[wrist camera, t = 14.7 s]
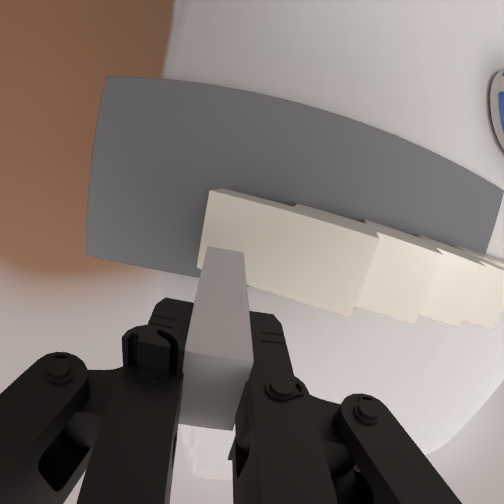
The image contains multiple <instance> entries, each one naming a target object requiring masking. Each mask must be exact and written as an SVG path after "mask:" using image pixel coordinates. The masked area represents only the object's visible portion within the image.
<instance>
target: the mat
mask: <svg viewBox="0 0 504 504" xmlns="http://www.w3.org/2000/svg"><path fill="white" fill-rule="evenodd" d="M219 188H224V189H228V190H232V191H236V192H240V193H244V194H248V195H251V196H255V197H259V198H263V199H267V200H270V201H274V202H278V203H281V204H285V205H289V206H292V207H294V206H295V205H296V204H302V205H305V206H309V207H312V208H316V209H319V210H322V211H326V212H329V213H333V214H336V215H339V216H343V217H346V218H349V219H352V220H356V221H359V222H362V223H364V219H366V220H369V221H372V222H375V223H378V224H381V225H384V226H387V227H390V228H393V229H396V230H399V231H402V232H405V233H408V234H411V235H413V236H416V237H418V236H419V235H422V236H425V237H427V238H430V239H433V240H436V241H438V242H441V243H444V244H446V245H449V246H452V247H453V246H454V245H457V246H460V247H463V248H466V249H469V250H472V251H475V252H479V253H482V254H485V253H486V250H487V247H488V244H489V241H490V238H491V235H492V232H493V229H494V226H495V222H496V219H497V215H498V212H499V208H500V205H501V201H502V197H503V193H504V190H502V189H500V188H499V187H497V186H495V185H494V184H492V183H490V182H489V181H487V180H485V179H484V178H482V177H480V176H478V175H477V174H475V173H473V172H471V171H469V170H467V169H466V168H464V167H462V166H460V165H458V164H456V163H454V162H452V161H450V160H448V159H446V158H444V157H442V156H440V155H438V154H436V153H434V152H432V151H430V150H427V149H425V148H423V147H421V146H419V145H416V144H414V143H412V142H410V141H407V140H405V139H403V138H400V137H398V136H395V135H393V134H390V133H388V132H385V131H383V130H380V129H377V128H375V127H372V126H369V125H367V124H364V123H361V122H358V121H355V120H352V119H350V118H347V117H344V116H340V115H337V114H334V113H331V112H328V111H324V110H321V109H318V108H314V107H311V106H307V105H304V104H300V103H296V102H292V101H288V100H284V99H280V98H276V97H272V96H268V95H263V94H258V93H254V92H249V91H244V90H238V89H233V88H227V87H222V86H215V85H209V84H202V83H195V82H187V81H178V80H168V79H157V78H143V77H122V76H107V77H106V81H105V86H104V90H103V94H102V100H101V104H100V109H99V115H98V120H97V125H96V132H95V138H94V145H93V152H92V160H91V169H90V178H89V190H88V204H87V224H86V255H87V256H92V257H96V258H101V259H106V260H111V261H116V262H121V263H126V264H131V265H136V266H141V267H146V268H151V269H156V270H161V271H166V272H172V273H177V274H183V275H188V276H194V277H199V278H200V276H201V271H202V269H199V268H197V262H198V256H199V249H200V243H201V237H202V231H203V225H204V219H205V213H206V208H207V202H208V196H209V191H210V190H214V189H219ZM247 286H249V285H247Z"/></svg>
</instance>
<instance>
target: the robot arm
mask: <svg viewBox="0 0 504 504" xmlns="http://www.w3.org/2000/svg"><path fill="white" fill-rule="evenodd" d="M122 352H123V367H120V368H117V369H113V370H87V368H86V366H85V364H84V362H83V361H82V360H81V359H79V358H78V357H77V356H75V355H72V354H69V353H66V352H55V353H50V354H47V355H45V356H43V357H42V358H40V359H38V360H37V361H36V362H35V363H34V364H33V365H32V366H30V367H29V369H27V370H26V371H25V372H24V373H23V374H22V375H20V376H19V377H18V378H17V379H16V380H15V381H14V382H13V383H12V384H11V385H10V386H8V387H7V389H5V390H4V391H3V392H2V393H1V394H0V504H63V503H64V502H65V500H66V498H67V497H68V495H69V494H70V493H71V491H72V489H73V488H74V487H75V485H76V484H77V482H78V481H79V479H80V478H81V476H82V475H83V473H84V472H85V470H86V472H85V476H84V479H83V482H82V486H81V489H80V493H79V496H78V500H77V504H169V503H170V493H171V484H172V474H173V466H174V458H175V450H176V442H177V430H178V423H179V424H185V425H191V426H198V427H205V428H213V429H222V430H231V431H233V427H234V424H235V430H236V436H235V438H234V441H233V444H232V447H231V450H230V453H229V457H228V460H232V464H233V504H462V503H461V502H460V500H459V499H458V498H457V497H456V495H455V494H454V493H453V491H452V490H451V489H450V487H449V486H448V485H447V484H446V482H445V481H444V480H443V478H442V477H441V476H440V475H439V473H438V472H437V471H436V469H435V468H434V467H433V466H432V464H431V463H430V462H429V460H428V459H427V458H426V457H425V455H424V454H423V453H422V451H421V450H420V449H419V448H418V446H417V445H416V444H415V442H414V441H413V440H412V439H411V437H410V436H409V435H408V434H407V432H406V431H405V430H404V428H403V427H402V426H401V425H400V423H399V422H398V421H397V420H396V418H395V417H394V416H393V414H392V413H391V412H390V411H389V409H388V408H387V407H386V406H385V405H384V404H383V403H382V402H381V401H380V400H378V399H376V398H374V397H373V396H370V395H366V394H352V395H350V396H348V397H346V398H345V399H344V401H343V402H342V403H341V404H337V403H333V402H329V401H325V400H322V399H319V398H316V397H313V396H312V395H310V394H309V392H308V390H307V388H306V386H305V384H304V383H303V382H301V381H300V380H299V379H298V378H297V377H295V376H294V373H293V369H292V365H291V361H290V357H289V353H288V349H287V345H286V341H285V337H284V333H283V329H282V325H281V323H280V322H279V321H278V320H277V318H276V317H275V316H274V315H273V314H267V313H260V312H253V311H249V305H248V294H247V283H246V272H245V261H244V252H238V251H233V250H227V249H222V248H216V247H211V246H207V250H206V254H205V258H204V263H203V267H202V271H201V276H200V280H199V284H198V289H197V293H196V298H195V303H192V302H186V301H181V300H175V299H170V298H164V299H163V300H162V301H160V302H159V303H157V304H156V305H155V308H154V310H153V312H152V316H151V318H150V320H149V322H148V325H143V326H136V327H134V328H132V329H130V330H128V331H127V332H126V333H125V334H124V335H123V337H122Z"/></svg>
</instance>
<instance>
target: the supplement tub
mask: <svg viewBox="0 0 504 504" xmlns="http://www.w3.org/2000/svg"><path fill="white" fill-rule="evenodd" d="M490 109H491V117H492V122H493V126H494V130H495V133H496V135H497V138H498V140H499V142H500V144H501V146H502V148H503V150H504V69H503V70H501V71H500V72H498V73H497V74H496V76H495V77H494V79H493V82H492V85H491V91H490Z"/></svg>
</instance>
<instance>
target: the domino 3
mask: <svg viewBox="0 0 504 504" xmlns="http://www.w3.org/2000/svg"><path fill="white" fill-rule="evenodd" d="M364 223H365V224H368V225H371V226H375V227H378V228H381V229H384V230H387V231H390V232H393V233H396V234H399V235H402V236H405V237H408V238H411V239H413V240H416V241H419V242H422V243H425V244H428V245H430V246H433V247H436V248H437V249H438V250H439V251H440V252H441V253H442V254H443V257H442V260H441V263H440V265H439V268H438V271H437V273H436V276H435V278H434V281H433V283H432V285H431V288H430V290H429V293H428V295H427V297H426V299H425V302H424V304H423V306H422V308H421V311H420V313H419V315H421V316H425V317H428V318H431V319H435V320H438V321H441V322H444V323H448V324H451V325H454V326H458V327H460V326H461V324H462V322H463V320H464V318H465V316H466V314H467V312H468V310H469V307H470V305H471V303H472V301H473V299H474V297H475V294H476V292H477V290H478V288H479V285H480V283H481V281H482V278H483V276H484V273H485V271H486V268H487V267H486V266H485V265H484V264H482V263H481V262H480V261H479V260H477V259H475V258H472V257H470V256H467V255H465V254H462V253H459V252H457V251H454V250H452V249H449V248H446V247H444V246H441V245H438V244H436V243H433V242H430V241H427V240H425V239H422V238H419V237H416V236H413V235H411V234H408V233H405V232H402V231H399V230H396V229H393V228H390V227H387V226H384V225H381V224H378V223H375V222H372V221H369V220H366V219H364Z"/></svg>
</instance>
